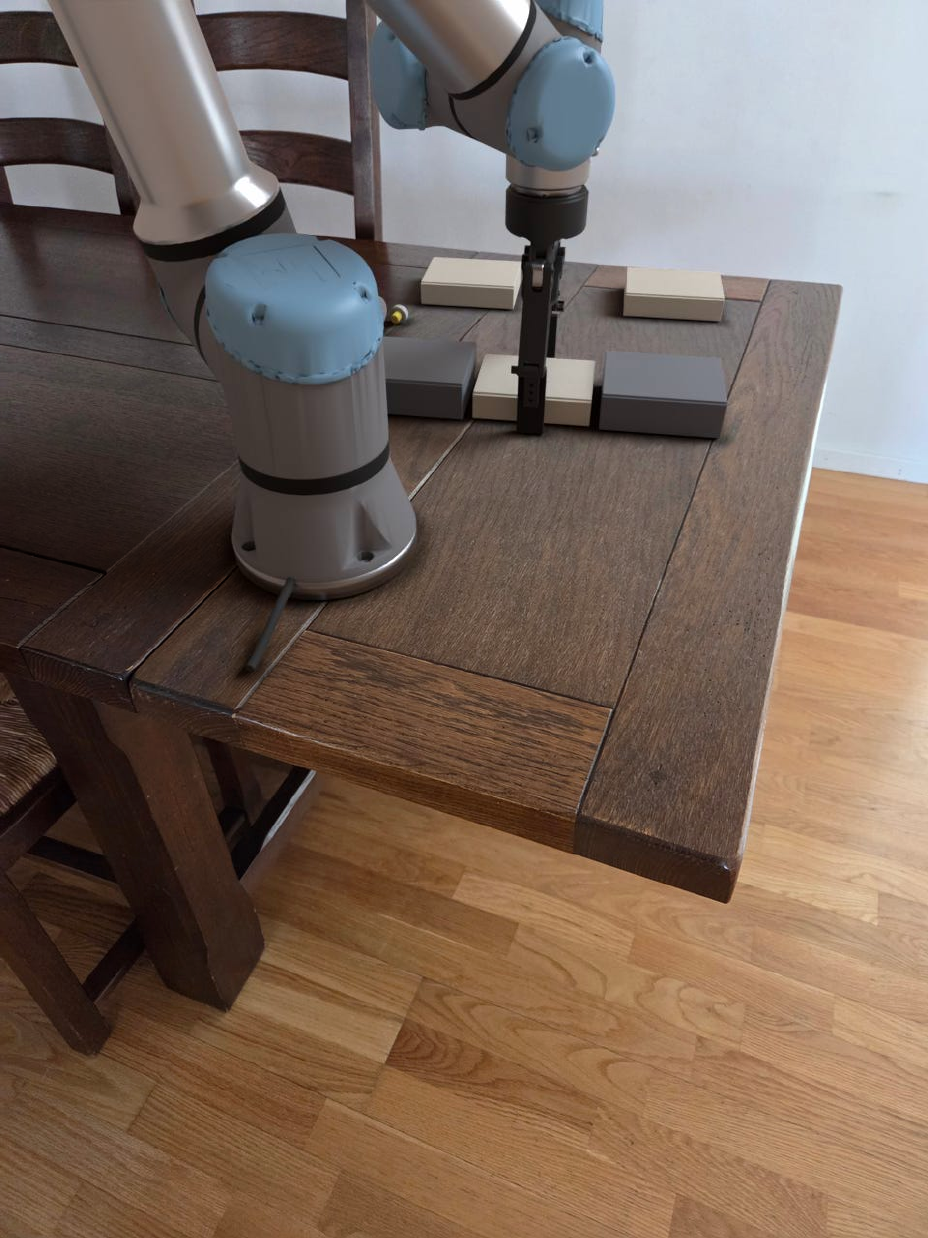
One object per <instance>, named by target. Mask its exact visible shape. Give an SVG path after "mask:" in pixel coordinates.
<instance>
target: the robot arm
mask: <svg viewBox="0 0 928 1238" xmlns="http://www.w3.org/2000/svg"><path fill="white" fill-rule="evenodd" d="M46 1H47V3H48V6H49V8H50V10H51V12H52V14H53V16H54V18H55V20H56V22H57V24H58V27H59V29H60V31H61V33H62V35H63V38H64V40H65V41H66V44H67V45H68V48H69V51H70V52H71V54H72V57H73V58H74V61H75V63H76V65H77V66H78V69H79V71H80V73H81V75H82V77H83V80H84V82H85V84H86V86H87V88H88V90H89V92H90V94H91V96H92V98H93V101H94V103H95V105H96V107H97V109H98V111H99V113H100V116H101V117H102V120H103V121H104V124H105V126H106V128H107V130H108V132H109V134H110V136H111V139H112V141H113V143H114V145H115V147H116V149H117V151H118V154H119V156H120V158H121V160H122V162H123V164H124V166H125V168H126V170H127V172H128V175H129V176H130V178H131V181H132V183H133V185H134V188H135V190H136V192H137V194H138V195H139V197H140V203H139V206H138V209H137V212H136V215H135V218H134V221H133V225H132V228H133V229H132V230H133V232H134V235H135V237H136V238H137V240H138V242H139V245H140V247H141V249H142V250H143V253H144V255H145V257H146V259H147V261H148V263H149V265H150V268H151V269H152V270H153V273H154V275H155V277H156V284H157V286H158V289H159V296H160V299H161V302H162V304H163V306H164V308H165V310H166V312H167V314H168V316H169V317H170V319H171V320H172V322H173V323H174V325H175V326H176V327H177V328H178V330H179V331H180V332H181V333H182V334H183V335H184V337H186V338H187V340H188V341H189V343H190V344H191V345H192V346H193V348H194V349H195V351H196V352H197V353H198V355H199V356H200V357H201V358H202V360H203V361H204V363H205V364H206V366H207V367H208V368H209V370H210V372H212V375H214V377H215V379H216V380H217V381H218V383H219V384H220V386H221V389H222V391H223V394H224V396H225V400H226V404H227V408H228V414H229V418H230V423H231V428H232V434H233V438H234V443H235V447H236V452H237V458H238V463H239V467H240V479H239V480H240V482H239V487H238V492H237V500H236V505H235V510H234V516H233V522H232V528H231V529H232V530H231V544H232V549H233V552H234V557H235V561H236V564H237V567H238V568H239V571H241V574H242V575H243V576H244V577H245V578H246V579H247V580H249V581H250V582H251V583H252V584H253V585H255V586H257V587H258V588H260V589H262V590H264V591H266V592H269V593H271V594H273V595H277V596H278V597H277V599H276V601H275V603H274V606H273V608H272V610H271V612H270V614H269V616H268V619H267V621H266V623H265V626H264V628H263V630H262V632H261V634H260V636H259V639H258V641H257V643H256V645H255V647H254V649H253V652H252V654H251V656H250V658H249V660H248V662H247V663H246V665H245V666H244V669H245V670H246V671H247V672H248V673H254V672H255V670H256V668H257V667H258V666H259V664H260V661H261V660H262V658H263V656H264V654H265V652H266V649H267V647H268V645H269V643H270V640H271V638H272V636H273V634H274V631H275V629H276V626H277V624H278V622H279V620H280V617H281V615H282V613H283V611H284V609H285V606H286V604H287V602H288V600H289V598H290V599H296V600H304V601H305V600H306V601H323V600H324V601H325V600H334V599H343V598H347V597H352V596H356V595H359V594H361V593H362V594H363V593H365V592H368V591H370V590H373V589H375V588H377V587H379V586H382V585H383V584H385V583H387V582H388V581H390V580H391V579H393V578H394V577H396V576H397V575H398V574H399V573H401V572H402V571H403V570H404V569H405V568H406V567H407V565H409V563H410V562H411V560H412V558H413V556H414V554H415V553H416V550H417V546H418V531H417V530H418V529H417V528H418V525H417V515H416V513H415V510H414V508H413V505H412V502H411V501H410V499H409V496H408V494H407V491H406V490H405V487H404V486H403V483H402V481H401V479H400V477H399V474H398V471H397V470H396V467H395V465H394V463H393V461H392V459H391V450H390V439H389V418H388V414H387V400H386V383H385V367H384V350H383V336H384V329H385V327H384V322H385V320H383V311H382V309H381V307H380V306H381V304H380V301H379V299H378V296H379V290H378V285H377V281H376V277H375V275H374V273H373V271H372V269H371V267H370V266H369V265H368V263H367V262H366V261H365V259H364V258H363V257H362V256H361V255H359V254H358V253H357V252H355V250H353V249H352V248H349V247H348V246H347V245H344V244H342V243H340V242H339V241H335V240H333V239H330V238H328V239H324V240H319V239H318V237H317V236H316V235H312V234H306V233H298V232H297V229H296V226H295V224H294V221H293V218H292V216H291V213H290V210H289V208H288V205H287V202H286V198H285V196H284V193H283V191H282V188H281V185H280V183H279V179H278V178H277V176H276V175H275V174H274V173H272V172H271V171H269V170H267V169H265V168H263V167H261V166H259V165H257V164H255V163H254V162H253V161H252V160H250V158H249V155H248V152H247V150H246V147H245V144H244V143H243V139H242V136H241V133H240V131H239V128H238V126H237V123H236V120H235V117H234V115H233V112H232V109H231V107H230V104H229V102H228V99H227V95H226V93H225V90H224V87H223V85H222V82H221V80H220V77H219V74H218V71H217V69H216V66H215V64H214V61H213V59H212V55H211V53H210V50H209V48H208V45H207V42H206V39H205V37H204V34H203V32H202V28H201V26H200V23H199V20H198V18H197V15H196V12H195V10H194V6H193V4H192V2H191V0H46ZM362 2H363V3H364V4H365V5H366V6H367V7H368V8H369V9H370V11H372V12H373V14H375V16H376V17H377V18H379V20H380V21H379V23H378V24H377V25H376V27H375V29H374V30H373V32H372V36H371V41H370V43H369V44H370V45H369V52H368V70H369V81H370V87H371V91H372V97H373V100H374V103H375V105H376V108H377V111H378V112H379V114H380V116H381V118H382V119H383V121H384V122H385V123H386V124H387V125H388V126H389V127H391V128H393V129H394V130H419V131H420V132H423V131H425V130H426V129H429V128H430V129H431V128H434V127H445V128H447V129H449V130H451V131H453V132H455V133H458V134H461V135H462V136H464V137H467V138H468V139H472V140H474V141H476V142H479V143H481V144H483V145H485V146H488V147H490V148H491V149H494V150H496V151H498V152H500V153H503V154H505V179H506V181H508V183H509V185H508V186H507V188H506V189H505V205H504V206H505V207H504V208H505V209H504V224H505V229H506V230H507V231H508V232H509V234H511V235H513V236H515V237H518V238H523V239H525V240H527V241H529V244H524V247H523V253H522V254H521V260H520V262H521V286H520V288H521V290H520V297H521V301H522V305H521V306H522V308H521V316H520V317H521V320H520V330H519V331H520V332H519V345H518V347H519V348H518V356H519V357H518V366H511V374H517V376H518V397H517V421H516V423H515V424H516V428H515V432H516V433H520V434H521V433H523V434H535V435H536V434H537V435H544V430H545V429H544V428H545V423H544V415H545V399H546V383H547V367H546V358H556V346H557V345H556V344H557V343H556V342H557V329H558V313H565V300H559V297H560V295H561V290H560V280H561V279H562V277H563V272H564V265H565V261H566V249H567V247H566V246H561V245H562V243H561V242H562V240H569V239H573V238H575V237H578V236H579V235H581V234H582V233H583V232H584V231H585V229H586V225H587V219H588V218H587V217H588V206H589V194H590V192H589V189H588V188H587V186H586V185H585V184H586V183H588V181H589V180H590V175H591V164H592V163H591V162H592V161H591V158H595V157H597V156H598V155H600V146H601V144H602V143H603V141H604V140H605V138H606V136H607V135H608V132H609V129H610V127H611V124H612V121H613V117H614V113H615V107H616V86H615V80H614V76H613V73H612V70H611V68H610V66H609V64H608V62H607V60H606V59H605V58H604V57H603V55H601V54H602V45H603V43H604V34H603V33H604V31H603V30H604V9H605V6H604V0H362ZM553 312H557V313H553Z"/></svg>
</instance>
